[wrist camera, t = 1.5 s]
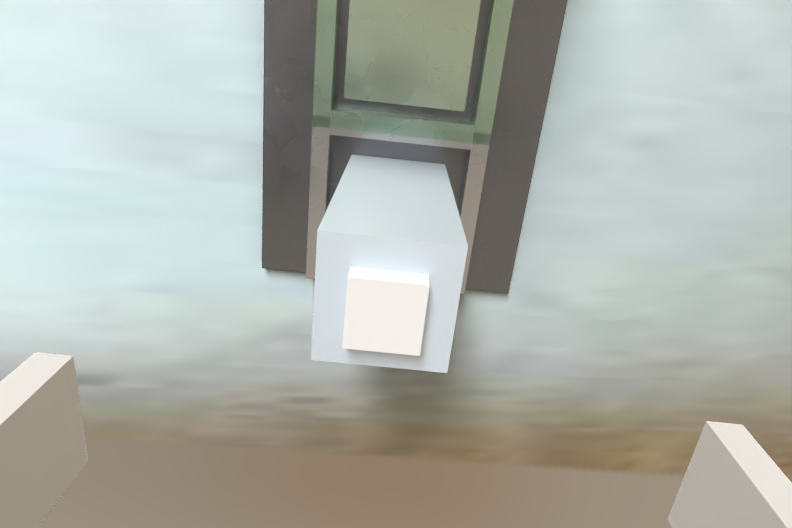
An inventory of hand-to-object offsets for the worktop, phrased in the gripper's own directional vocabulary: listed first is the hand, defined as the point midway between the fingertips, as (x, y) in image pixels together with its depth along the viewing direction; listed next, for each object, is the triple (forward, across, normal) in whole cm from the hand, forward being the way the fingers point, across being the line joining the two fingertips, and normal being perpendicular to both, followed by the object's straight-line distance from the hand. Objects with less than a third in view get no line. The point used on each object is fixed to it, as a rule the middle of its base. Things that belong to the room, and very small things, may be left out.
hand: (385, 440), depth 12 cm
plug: (+17, 0, 0) cm, 17 cm away
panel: (+18, 0, +4) cm, 18 cm away
